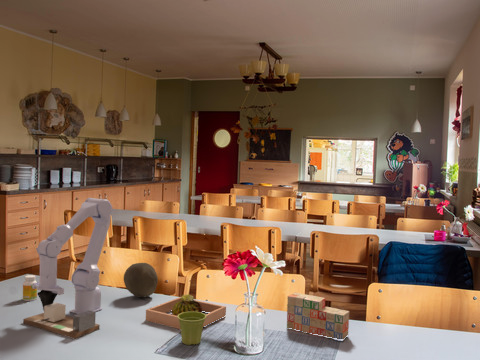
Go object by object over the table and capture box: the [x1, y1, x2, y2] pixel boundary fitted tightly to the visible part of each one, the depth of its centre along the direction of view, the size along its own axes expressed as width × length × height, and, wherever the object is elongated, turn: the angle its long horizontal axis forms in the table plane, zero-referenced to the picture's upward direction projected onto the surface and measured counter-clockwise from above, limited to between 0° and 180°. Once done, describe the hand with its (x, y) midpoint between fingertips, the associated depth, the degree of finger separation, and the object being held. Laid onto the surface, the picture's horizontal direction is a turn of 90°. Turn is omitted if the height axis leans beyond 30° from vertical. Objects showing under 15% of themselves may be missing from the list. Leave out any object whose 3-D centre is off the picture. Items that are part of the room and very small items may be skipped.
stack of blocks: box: [286, 292, 350, 339], centre depth 167 cm, size 21×6×12 cm, turn 57°
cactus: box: [170, 293, 202, 316], centre depth 176 cm, size 17×16×10 cm
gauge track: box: [22, 310, 100, 339], centre depth 165 cm, size 11×26×6 cm, turn 60°
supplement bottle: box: [22, 274, 38, 302], centre depth 195 cm, size 5×5×10 cm
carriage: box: [41, 302, 66, 322], centre depth 165 cm, size 8×5×5 cm, turn 150°
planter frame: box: [145, 296, 227, 330], centre depth 178 cm, size 21×22×4 cm
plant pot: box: [177, 312, 206, 346], centre depth 154 cm, size 9×9×9 cm
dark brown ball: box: [123, 262, 159, 298], centre depth 203 cm, size 14×14×15 cm
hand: (47, 311), depth 169 cm, fingers closed
